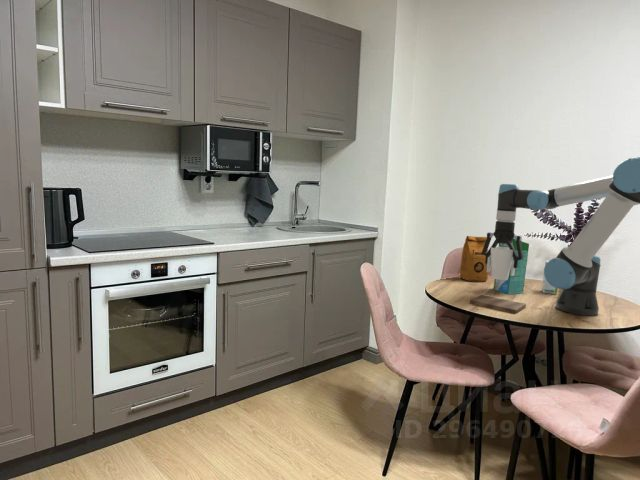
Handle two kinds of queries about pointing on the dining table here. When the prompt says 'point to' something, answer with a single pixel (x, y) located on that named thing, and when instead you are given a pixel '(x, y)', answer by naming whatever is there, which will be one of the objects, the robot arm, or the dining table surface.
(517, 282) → the milk carton
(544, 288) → the syrup box
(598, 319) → the dining table surface
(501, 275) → the foam cup
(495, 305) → the walnut board
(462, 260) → the coffee package
